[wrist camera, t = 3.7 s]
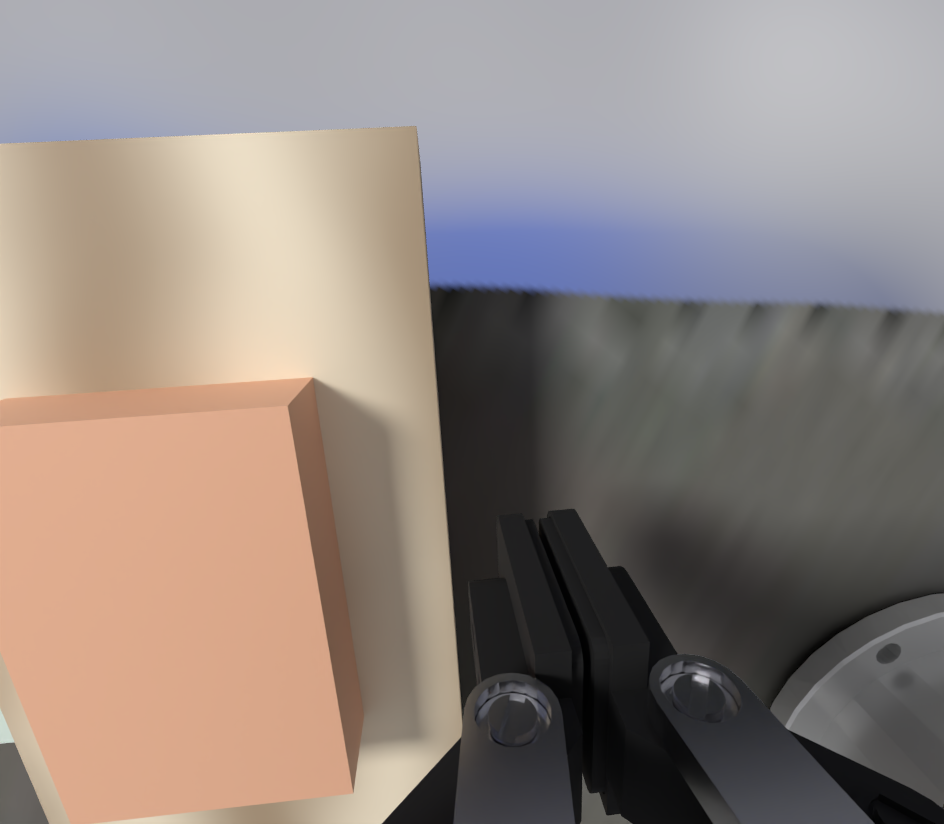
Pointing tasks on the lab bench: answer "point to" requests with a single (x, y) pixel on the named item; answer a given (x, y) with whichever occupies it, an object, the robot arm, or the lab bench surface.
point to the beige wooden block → (261, 374)
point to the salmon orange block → (177, 598)
